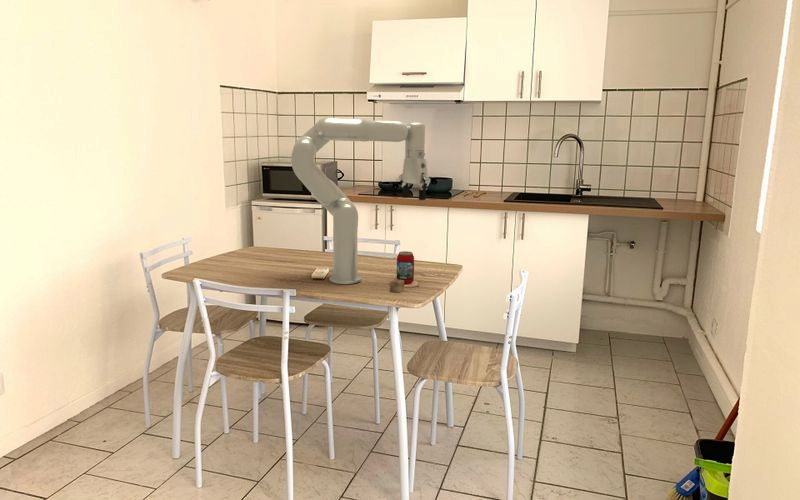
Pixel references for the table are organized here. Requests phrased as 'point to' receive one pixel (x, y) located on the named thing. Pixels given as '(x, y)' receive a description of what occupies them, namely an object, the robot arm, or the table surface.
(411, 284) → the coaster
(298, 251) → the table surface
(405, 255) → the beverage can
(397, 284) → the walnut block
